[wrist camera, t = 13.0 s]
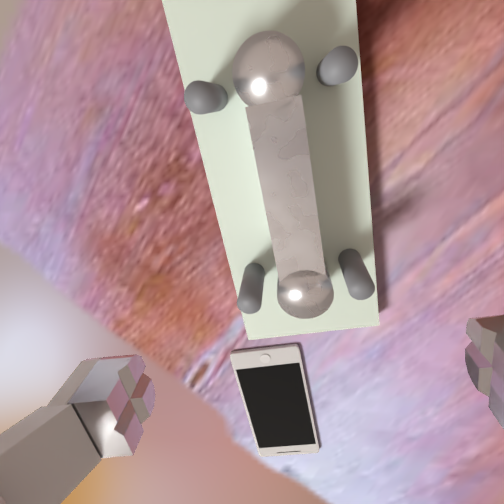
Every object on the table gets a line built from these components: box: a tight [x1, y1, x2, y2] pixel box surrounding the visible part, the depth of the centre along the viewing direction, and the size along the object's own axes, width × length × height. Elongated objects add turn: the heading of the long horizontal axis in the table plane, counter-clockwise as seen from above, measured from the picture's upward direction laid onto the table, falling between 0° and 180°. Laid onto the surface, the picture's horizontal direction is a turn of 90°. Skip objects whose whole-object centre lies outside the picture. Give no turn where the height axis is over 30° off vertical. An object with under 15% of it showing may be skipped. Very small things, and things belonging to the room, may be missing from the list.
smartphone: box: [230, 344, 319, 457], centre depth 38 cm, size 7×16×1 cm, turn 12°
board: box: [162, 0, 379, 340], centre depth 25 cm, size 12×28×6 cm, turn 12°
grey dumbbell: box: [232, 31, 334, 319], centre depth 25 cm, size 4×19×4 cm, turn 12°
